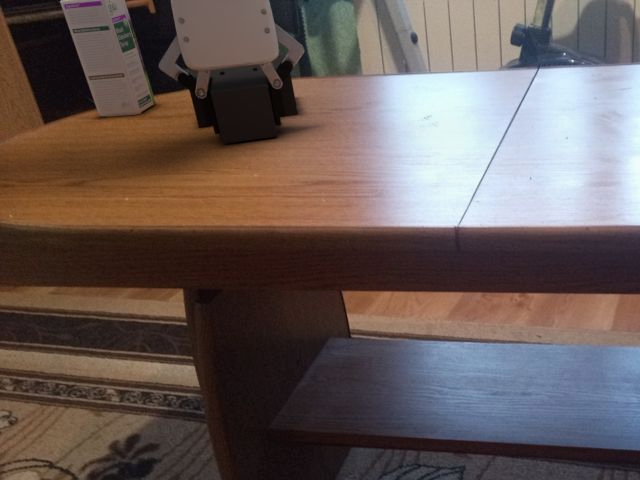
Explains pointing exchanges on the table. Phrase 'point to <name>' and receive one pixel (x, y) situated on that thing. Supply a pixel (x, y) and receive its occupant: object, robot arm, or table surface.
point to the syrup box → (109, 55)
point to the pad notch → (285, 89)
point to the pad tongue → (243, 105)
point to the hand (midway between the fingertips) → (248, 125)
